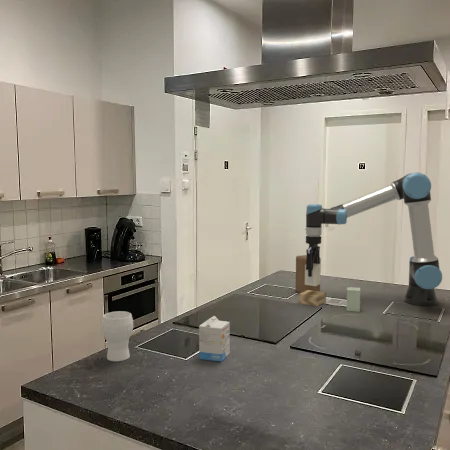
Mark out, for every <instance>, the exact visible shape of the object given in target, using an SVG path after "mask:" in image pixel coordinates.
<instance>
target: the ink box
mask: <svg viewBox="0 0 450 450" xmlns="http://www.w3.org/2000/svg"><path fill="white" fill-rule="evenodd" d="M230 324H231V323H230V321H224V320H219V319H218V318H217V317H216V316H215V315H213V316H211V317H210V318H208V319H207V320H205V321H204V322H203V323H201V324H200V325H199V327H198V329H199V331H198V332H199V333H198V334H199V335H198V336H199V337H198V338H199V340H198V341H199V342H198V343H199V345H198V348H199V350H198V351H199V352H198V353H199V360H205V361H206V360H207V361H212V362H213V361H214V362H223V361H224V360H225V359H226V358H227V357H228V356H229V355H230V353H231V349H230V348H231V347H230V345H231V343H230V342H231V341H230V339H231V338H230V335H231V334H230V332H231V331H230V329H231V328H230Z"/></svg>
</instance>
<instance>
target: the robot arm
mask: <svg viewBox="0 0 450 450" xmlns="http://www.w3.org/2000/svg"><path fill="white" fill-rule="evenodd" d="M431 190H432V183H431V180H430V178H429V177H428V176H427V175H426V174H424V173H422V172H412V173H411V172H410V173H407V174H405V175H404V176H402V177H400V178H398V179H396V180H394V181H392V182H391V183H390V185H388V186H387V185H386V186H385V187H382V188H380V189H377V190H374V191H372V192H369V193H367V194H364V195H361V196H359V197H357V198H354V199H352V200H349V201H347V202H344V203H342V204H339V205H336V206H333V207H330V208H323V206H322V204H316V203H313V204H312V203H310V204H309V203H308V205H307V206H306V210H305V211H306V212H305V216H306V217H305V219H306V220H305V229H304V230H305V235H306V236H305V244H307V245H308V248H307V249H306V255H307V258H306V270H308V283H313V272H314V270H313V263H314V264H320V259H321V257H320V256H321V255H320V254H321V253H320V251H321V246H319V245H321V244H322V232H323V231H322V225H346V224H347V223H348V222H347V221H348V218H351V217H353V216H356V215H358V214H361V213H364V212H367V211H369V210H371V209H374V208H376V207H379V206H382V205H385V204H387V203H389V202H392V201H395V200H397V201H401V200H403V202H404V203H403V204H404V205H406V206H407V208H408V214H409V215H408V216H409V223H410V232H411V238H412V239H411V240H412V248H413V254H414V255H413V256H410V257H409V261H408V262H409V264H408V265H409V266H408V267H409V270H408V286H407V288H406V292H405V294H404V302H405V303H408V304H409V305H415V306H424V307H426V306H427V307H428V306H429V307H430V306H436V305H437V304H438V297H437V293H436V291H435V289H436V288H438V286H440V285H441V283H442V281H443V274H442V271H441V269H440V262H439V258H438V257H437V256H436V255H435V251H434V243H433V242H434V241H433V236H432V235H433V234H432V227H431V217H430V210H429V203H431V201H432V196H431V195H432V194H431Z"/></svg>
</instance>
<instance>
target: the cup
mask: <svg viewBox="0 0 450 450" xmlns="http://www.w3.org/2000/svg"><path fill="white" fill-rule="evenodd" d="M101 330H102V331H101V332H102V335H103V337H104V338H105V340H106V342H107V353H106V360H108V361H110V362H123V361H125V360H129V358H130V357H131V355H130V350H129V349H130V348H129V340H130V338H131V336H132V333H133V330H134V319H133V315H132V313H131V312H129V311H122V310H121V311H120V310H119V311H111V312H106V313H105V314H103V315H102V320H101Z"/></svg>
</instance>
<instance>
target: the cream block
mask: <svg viewBox="0 0 450 450" xmlns="http://www.w3.org/2000/svg"><path fill="white" fill-rule="evenodd" d="M321 265H322V264H314V263H313V270H314V272H313V283H308V270H306V265H305V285H311V286H317V285H319V284H320V285H321V271H322V269H321V267H322V266H321Z"/></svg>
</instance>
